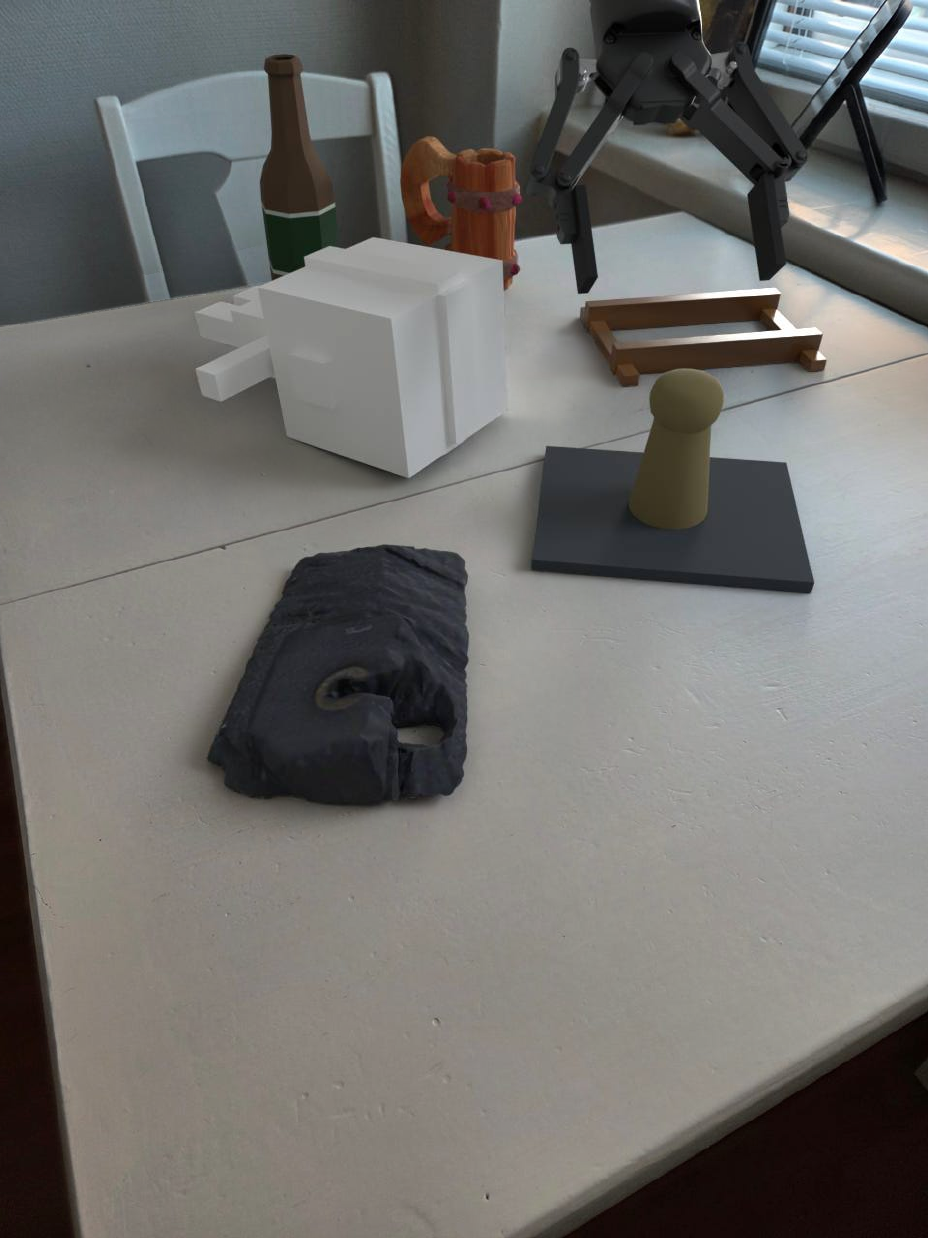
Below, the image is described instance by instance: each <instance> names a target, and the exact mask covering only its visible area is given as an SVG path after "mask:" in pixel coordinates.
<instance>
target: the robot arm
mask: <svg viewBox="0 0 928 1238" xmlns="http://www.w3.org/2000/svg"><path fill="white" fill-rule="evenodd" d="M588 2H589V4H590V6H589V13H590V14H589V15H590V21H591V29H592V36H593V45H594V50H595V56H596V58H593V57H591V58H588V57H580V54H579V52H578V50H577V49H576V48H574V47H567V48H564V50H563V51H562V52H561V56H560V60H559V62H558V65H557V68H556V72H555V74H554V97H555V98H554V101H553V103H552V106H551V109H550V112H549V114H548V117H547V121H546V123H545V126H544V128H543V131H542V133H541V137H540V138H539V139H540V140H539V142H538V144H537V147H536V150H535V152H534V156H533V158H532V161H531V164H530V167H529V169H528V173H527V175H526V177H525V180H524V181H525V182H524V184H523V191H524V193H525V194H526V195H528V196H529V197H536V196H537V195H539V196H543V197H546V198H547V199H546V201H547V204H548V206H549V207H550V208H551V209H552V211H553V217H554V224H555V233H556V234H555V235H556V239H557V241H558V243H559V244H560V245H570V247H571V253H572V260H573V268H574V275H575V283H576V291H577V295H585V294H587V295H588V294H589V293H590V291H591V290H592V288H593V286H594V285H595V283H596V281H597V279H599V274H598V266H597V259H596V252H595V243H594V237H593V229H592V222H591V213H590V206H589V197H588V192H587V185H586V184H578V182H579V180H580V179H581V177H582V176H583V175H584V173H585V172H586V171H587V169H588V168H589V166H590V165H591V164H592V161H593V160H594V159H595V158H596V156H597V154H598V153H599V151H600V150H601V148H602V147H603V146H604V145H605V143H606V141H607V140H608V138H609V137H610V136H611V135H612V134H613V132H614V130H615V129H616V128H617V126H618V125H619V123H620V122H621V121H622V119H623V118H624V119H626V120H628V121H630V122H632V124H633V126H644V125H648V124H650V123H661V124H664V125H667V124H676V122H677V120H680V121H681V122H682V123H684V125H685V126H686V127H688V128H689V130H691V131H697V132H699V133H700V134H701V135H702V136H703V137H704V138H705V139H706V140H707V141H709V143H710V144H712V146H713V147H714V148H716V150H718V151H719V153H721V154H722V155H723V157H725V158H726V159H727V160H728V161H729V162H730V164H732V165H733V166H734V167H735V168H736V169H737V170H738V171H739V172H740V173H741V174H742V175H743V176H744V177H745V178H746V179H747V180H748V181H749V182H750V183H752V185H753V187H752V188H751V189H750V191H748V193H747V194H746V196H747V197H746V198H747V204H748V210H749V217H750V225H751V231H752V239H753V245H754V252H755V260H756V267H757V272H758V279H759V282H765V281H771V279H772V278H774V276H775V275H776V274H778V273H779V272H780V271H781V270H782V269H783V268H784V267H785V266H786V265H787V259H786V252H785V246H784V245H785V244H784V239H783V238H784V237H783V232H782V231H783V230H782V228H783V227H784V226H785V225H786V224H787V223H788V222H789V218H790V215H791V214H790V208H789V201H788V194H787V187H786V183H787V182H790V181H792V179H793V178H794V177H795V176H796V175H797V174H798V172H800V171H801V169H802V168H803V167H804V165H805V164H806V163H807V162H808V161H809V157H810V156H809V155H810V154H809V152H808V150H807V148H806V147H805V145H804V144H803V143H802V141H801V139H800V138H799V136H798V135H797V133H796V132H795V130H794V129H793V127H792V125H791V124H790V123H789V121H788V120H787V118H786V117H785V115H784V114H783V112H782V111H781V109H780V107H779V106H778V104H777V103H776V101H775V100H774V98H773V96H772V95H771V94H770V92H769V91H768V89H767V87H766V86H765V84H764V83H763V81H762V80H761V78H760V77H759V74H758V73H757V72H756V70H755V68H754V64H753V63H754V62H753V59H752V55H751V53H750V52H751V51H750V48H749V46H748V44H747V43H746V42H744V41H736V42H735V43H733V45H732V47H731V49H730V50H729V51H723V52H718V53H710V51H709V50H708V49H707V47H706V45H705V43H704V41H703V29H702V28H703V27H702V15H701V9H700V1H699V0H588ZM708 77H712V78H714V79H715V80H716V82H717V83H716V85H715V84H714V83H713V82H712V81H711V80H710V79H709V78H708ZM591 81H592V82H593V84H594V85H595V87H596V88H597V89H598V90H599V92H601V94H603V96H604V97H605V98H606V102H605V104H604V105H603V107H602V109H601V110H600V111H599V113H598V114H597V116H596V117H595V118H594V119H593V121H592V123H591V124H590V126H589V127H588V128H587V130H586V132H585V133H584V134H583V136H582V137H581V138H580V140H579V141H578V143H577V145H576V146H575V148H573V150H572V151H571V153H570V154H569V156H568V157H567V158H566V160H565V162H564V163H563V165H562V166H561V168H560V169H559V170H555V169H553V168H550V167H551V163H552V160H553V157H554V155H555V152H556V149H557V146H558V144H559V141H560V138H561V135H562V133H563V130H564V127H565V124H566V123H567V119H568V116H569V113H570V110H571V109H572V105H573V102H574V100H575V98H576V96H578V94H581V93H583V92H584V90H585V89H586V86H587V83H588V82H591ZM721 90H724V93H725V95H726V98H727V100H728V102H729V103H730V105H731V106H732V108H733V109H732V108H731V107H730V106H729V105H728V104H727V103H726V102H725V101H724V100H723V99H722V94H721ZM696 98H697V99H698V100H699V105H698V106H695V105H694V104H693V103H694V102H695V99H696ZM577 184H578V185H577Z"/></svg>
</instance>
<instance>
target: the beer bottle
mask: <svg viewBox="0 0 928 1238" xmlns="http://www.w3.org/2000/svg"><path fill="white" fill-rule="evenodd" d="M301 61H302V60H301V59H300V58H299V57H298V56H296V55H294V54H288V53H287V54H285V53H284V54H283V53H282V54H274V55H271V56H268V57H266V58H264V65H263V71H264V72H265V73H266V74H267V83H268V84H267V85H268V98H269V99H268V100H269V114H270V115H269V116H270V129H271V130H270V131H271V135H270V136H271V137H270V150H269V152H268V154H267V156H266V158H265V160H264V163H263V164H262V168H261V174H260V178H259V190H260V191H259V193H260V203H261V211H262V219H263V225H264V226H263V227H264V233H265V241H266V248H267V249H266V250H267V257H268V263H269V272H270V278H271V281H273V280H275V279H278V278H280V277H282V276H285V275H287V274H289V273H292V272H294V271H296V270H298V269H301V268H303V267H305V261H304V257H305V256H307V255H310V254H312V253H314V252H317V251H319V250H321V249H324V248H326V247H328V246H332V247H338V248H340V244H339V232H338V231H339V230H338V219H337V207H336V200H335V199H336V198H335V193H334V186H333V182H332V180H331V177H330V175H329V172H328V170H327V167H326V166H325V164H324V163H323V161H322V159H321V158H320V157H319V156H318V154H317V153H316V151H315V150H314V146H313V142H312V138H311V133H310V128H309V121H308V115H307V114H308V113H307V108H306V102H305V95H304V88H303V82H302V73H303V71H304V68H303V65H302V62H301Z"/></svg>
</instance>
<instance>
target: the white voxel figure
mask: <svg viewBox="0 0 928 1238" xmlns="http://www.w3.org/2000/svg"><path fill="white" fill-rule="evenodd" d="M304 261H305V267H303V268H301V269H298V270H296V271H294V272H292V273H289V274H287V275H285V276H282V277H280V278H278V279H275V280H273V281H272V280H270V281H269V282H266V283H264V284H262V285H255V286H252V287H250V288H247V289H245V290H243V291H241V292H238V293H236V294H234V295H232V299H233V303H234V304H233V303H229V302H225V301H221V300H220V301H218V302H215V303H213V304H210V305H207V306H206V307H203V308H202V309H199V310H197V311H194V314H195V318H196V321H197V327H198V330H199V335H200V337H201V338H203V339H208V340H212V341H215V342H218V343H222V344H225V345H229V346H232V347H236V349H234V350H232V351H229V352H228V353H226V354H223V355H222V356H220V357H217V358H215V359H214V360H211V361H208V362H207V363H205V364H203V365H200V366H198V367H197V368H195V374H196V377H197V381H198V385H199V388H200V393H201V395H202V396H203V397H205V398H208V399H211V400H213V401H217V402H224V401H225V400H227V399H229V398H231V397H233V396H235V395H238V394H239V393H241V392H243V391H245V390H246V389H249V388H251V387H253V386H254V385H256V384H258V383H260V382H262V381H265V380H266V379H268V378H272V379H275V382H276V387H277V393H278V398H279V399H278V400H279V403H280V408H281V413H282V418H283V423H284V429H285V433H286V437H287V438H290V439H293V440H296V441H298V442H302V443H305V444H307V445H310V446H313V447H316V448H318V449H321V450H325V451H328V452H331V453H334V454H336V455H339V456H342V457H346V458H348V459H351V460H354V461H357V462H360V463H362V464H366V465H369V466H370V467H371V466H372V467H375V468H378V469H380V470H383V471H386V472H389V473H392V474H395V475H398V476H401V477H404V478H406V479H410V478H411V477H413V476H414V475H416V474H417V473H419V472H420V471H422V470H423V469H425V468H426V467H427V466H429V465H431V464H432V463H433V462H435V461H436V460H437V459H439V458H440V457H442V456H443V457H444V456H445V455H447V454H449V452H451V451H453V450H454V449H455V448H457V447H459V445H461V444H462V443H464V442H465V441H466V440H467V439H468V438H470V437H471V436H472V435H474V434H475V433H476V432H477V433H478V431H480V430H481V429H483V428H484V427H485V426H487V425H488V424H490V423H491V422H493V421H494V420H495V419H497V418H498V417H500V416H501V415H503V414H504V413H506V412H507V411H509V407H508V405H509V404H508V377H507V352H506V351H507V349H506V347H507V346H506V321H505V319H506V318H505V317H506V316H505V294H504V293H505V290H504V287H503V261H502V260H497V259H491V258H486V257H480V256H475V255H469V254H464V253H458V252H453V251H447V250H445V249H441V248H435V247H430V246H426V245H425V246H424V245H418V244H413V243H408V242H402V241H397V240H393V239H392V240H391V239H386V238H380V237H374V236H371V237H370V238H367V239H366V240H363V241H361V242H358V243H356V244H354V245H352V246H349V247H347V248H342V247H339V248H338V247H332V246H328V247H326V248H324V249H321V250H319V251H317V252H314V253H312V254H310V255H307V256H305V257H304Z"/></svg>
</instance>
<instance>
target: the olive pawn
mask: <svg viewBox="0 0 928 1238" xmlns="http://www.w3.org/2000/svg"><path fill="white" fill-rule="evenodd" d="M648 400H649V410H650V414H651V416H652V417H653V420H652V423H651V427H650V431H649V434H648V437H647V441H646V444H645V446H644V449H643V457H642V460H641V463H640V466H639V470H638V473H637V476H636V480H635V483H634V486H633V490H632V493H631V496H630V500H629V508H630V510H631V512H632V513H633V515H634V516H635V517H637V518H638V519H639V520H640V521H642V522H644V523H646V524H648V525H650V526H653V527H657V528H662V529H671V530H679V529H686V528H690V527H693V526H695V525H698V524H699V523H700V522H702V521H703V520H704V519H705V517H706V514H707V506H708V484H709V463H710V457H711V440H712V425H714V424H715V423H716V422H717V421H718V419H719V416H720V414H721V413H722V410H723V408H724V403H725V395H724V390H723V386H722V384H721V382H720V381H719V380H718V379H717V378H716V377H715V376H713V375H711V374H710V373H708V372H706V371H703V370H701V369H699V370H696V369H686V368H682V369H675V370H671V371H668V372H663V373H662V374H660V375H659V376H658V378H657V379H656V380H655V381H654V383H653V384H652V387H651V389H650V392H649V399H648Z"/></svg>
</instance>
